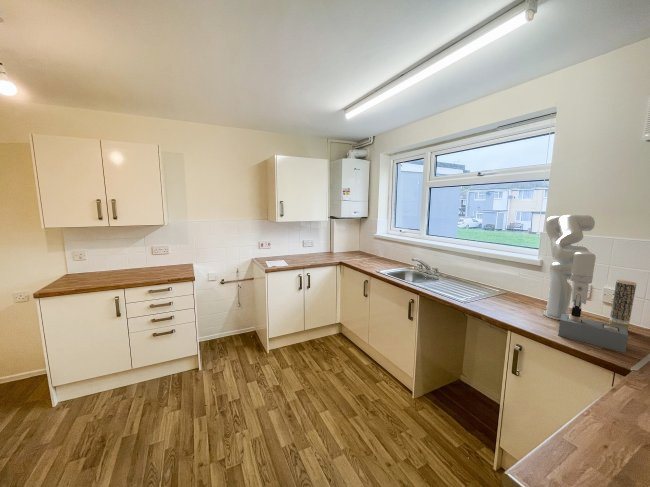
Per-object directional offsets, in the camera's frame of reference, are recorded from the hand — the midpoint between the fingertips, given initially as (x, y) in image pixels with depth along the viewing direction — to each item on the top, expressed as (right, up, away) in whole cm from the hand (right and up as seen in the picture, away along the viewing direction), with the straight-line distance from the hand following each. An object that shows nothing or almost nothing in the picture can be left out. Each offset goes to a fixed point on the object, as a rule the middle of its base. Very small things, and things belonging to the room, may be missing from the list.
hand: (575, 315), depth 130 cm
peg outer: (+9, -11, -7) cm, 16 cm away
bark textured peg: (+30, -10, +10) cm, 33 cm away
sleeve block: (+4, -11, -2) cm, 12 cm away
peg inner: (0, -8, +1) cm, 8 cm away
